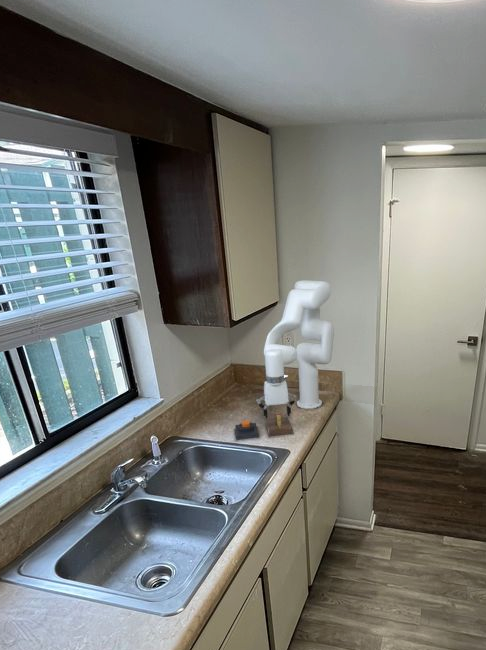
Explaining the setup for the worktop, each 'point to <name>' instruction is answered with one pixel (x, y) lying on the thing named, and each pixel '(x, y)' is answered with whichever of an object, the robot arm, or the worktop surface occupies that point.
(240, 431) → the doorbell
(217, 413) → the worktop surface
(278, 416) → the lock knob
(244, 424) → the bell button
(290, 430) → the plate
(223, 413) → the worktop surface
